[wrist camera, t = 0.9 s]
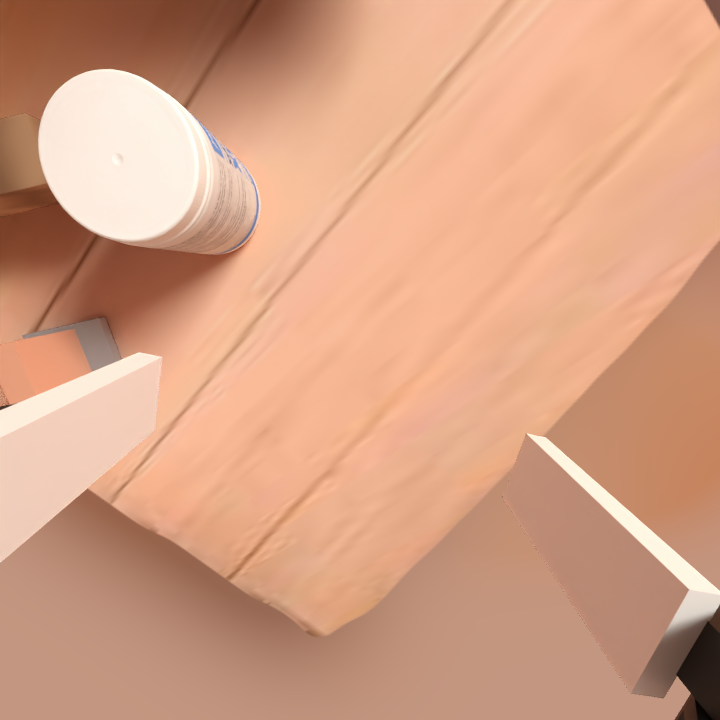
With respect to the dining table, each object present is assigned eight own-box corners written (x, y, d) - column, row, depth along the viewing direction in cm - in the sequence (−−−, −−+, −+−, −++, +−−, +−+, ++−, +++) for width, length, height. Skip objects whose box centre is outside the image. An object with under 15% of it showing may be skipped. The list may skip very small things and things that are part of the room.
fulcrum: (30, 333, 38) (-52, 349, 30) (105, 316, 37) (41, 328, 30) (77, 437, 40) (12, 477, 33) (146, 422, 40) (98, 458, 33)
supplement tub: (271, 167, 35) (217, 94, 20) (253, 266, 37) (192, 263, 22) (168, 137, 34) (36, 39, 20) (155, 241, 36) (27, 220, 22)
